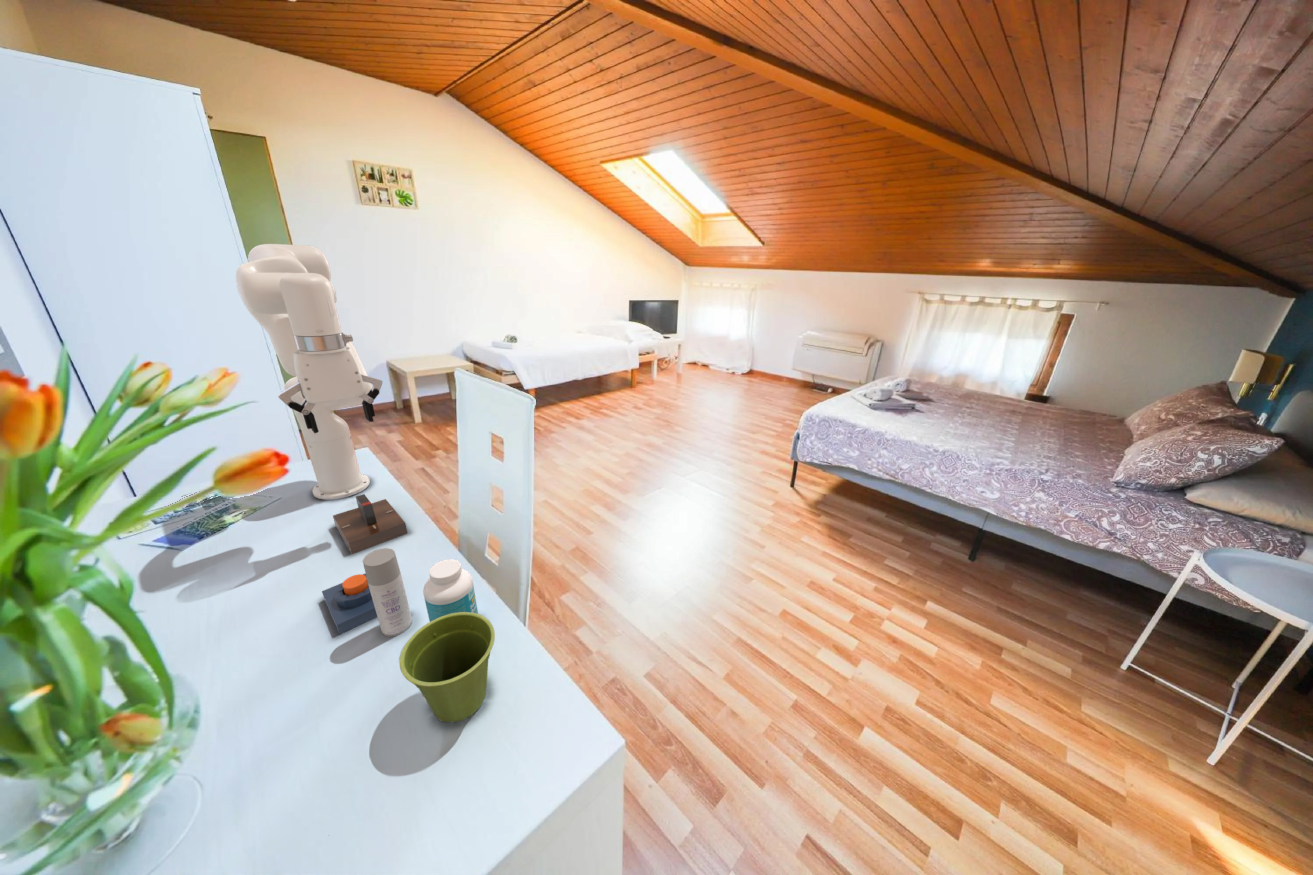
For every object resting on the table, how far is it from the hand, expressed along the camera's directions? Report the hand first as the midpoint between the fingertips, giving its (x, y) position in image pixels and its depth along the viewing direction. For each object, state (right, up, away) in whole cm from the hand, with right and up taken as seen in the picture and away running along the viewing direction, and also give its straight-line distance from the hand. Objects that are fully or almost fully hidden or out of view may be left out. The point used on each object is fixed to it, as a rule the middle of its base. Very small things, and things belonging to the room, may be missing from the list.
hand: (343, 425), depth 89 cm
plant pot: (+37, -42, -26) cm, 61 cm away
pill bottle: (+31, -36, -15) cm, 50 cm away
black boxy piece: (-1, -21, +9) cm, 23 cm away
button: (+11, -30, -12) cm, 34 cm away
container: (+20, -36, -15) cm, 44 cm away
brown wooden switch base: (-1, -24, +10) cm, 26 cm away
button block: (+11, -33, -10) cm, 37 cm away
